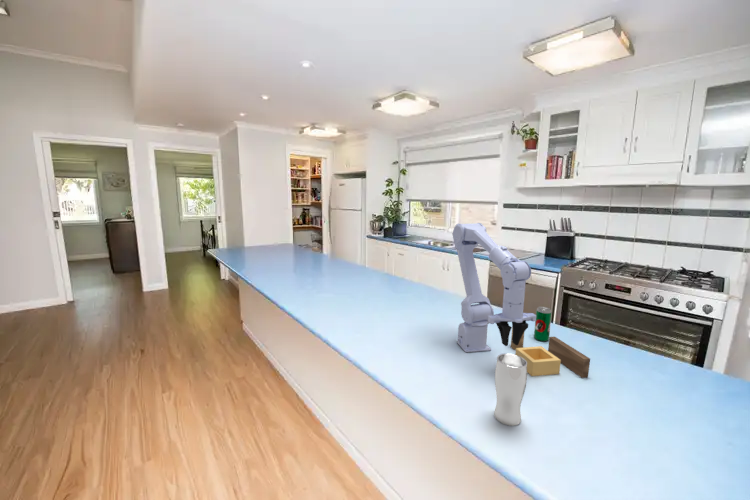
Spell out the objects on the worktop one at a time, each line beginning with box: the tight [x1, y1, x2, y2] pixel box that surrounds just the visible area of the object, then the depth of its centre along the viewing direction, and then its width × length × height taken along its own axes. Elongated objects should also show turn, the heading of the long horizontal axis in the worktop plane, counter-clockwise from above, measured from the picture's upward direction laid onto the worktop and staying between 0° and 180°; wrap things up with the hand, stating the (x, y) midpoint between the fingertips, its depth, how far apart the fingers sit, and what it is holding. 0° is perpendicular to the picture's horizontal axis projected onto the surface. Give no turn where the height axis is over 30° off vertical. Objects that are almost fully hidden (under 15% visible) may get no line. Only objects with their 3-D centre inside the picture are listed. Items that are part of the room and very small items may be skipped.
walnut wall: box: [547, 336, 591, 379], centre depth 102 cm, size 2×15×6 cm, turn 8°
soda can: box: [533, 306, 553, 342], centre depth 120 cm, size 5×5×12 cm
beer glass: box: [493, 353, 528, 427], centre depth 77 cm, size 7×7×15 cm
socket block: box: [514, 345, 562, 377], centre depth 101 cm, size 9×9×4 cm
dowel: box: [510, 326, 525, 351], centre depth 113 cm, size 4×4×8 cm
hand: (510, 344), depth 98 cm, fingers open, 3 cm apart
